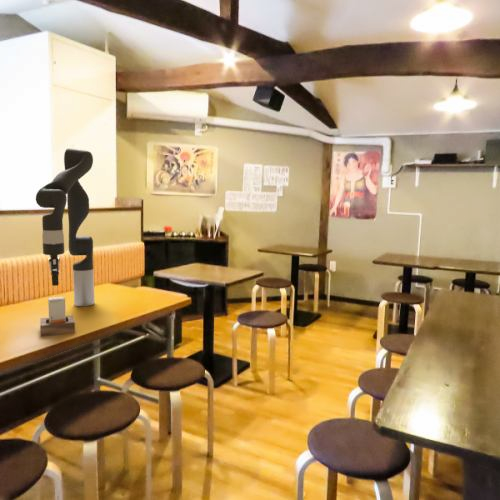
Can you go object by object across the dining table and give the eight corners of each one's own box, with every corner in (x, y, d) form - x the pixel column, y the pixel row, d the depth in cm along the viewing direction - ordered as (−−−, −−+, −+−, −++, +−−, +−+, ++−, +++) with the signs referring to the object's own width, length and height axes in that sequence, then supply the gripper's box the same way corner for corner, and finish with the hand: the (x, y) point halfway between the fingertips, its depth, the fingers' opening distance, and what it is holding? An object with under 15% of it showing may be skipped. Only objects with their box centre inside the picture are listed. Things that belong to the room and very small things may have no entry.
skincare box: (49, 330, 168) (48, 299, 167) (49, 327, 172) (47, 297, 171) (66, 328, 171) (65, 298, 170) (65, 325, 175) (64, 296, 173)
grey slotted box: (40, 328, 174) (40, 318, 174) (73, 324, 179) (72, 315, 179) (40, 336, 164) (40, 326, 164) (74, 332, 169) (74, 322, 169)
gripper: (42, 240, 172) (44, 280, 174) (42, 244, 159) (44, 287, 161) (63, 239, 175) (64, 279, 177) (64, 243, 162) (66, 286, 164)
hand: (55, 283), depth 169 cm, fingers open, 8 cm apart
